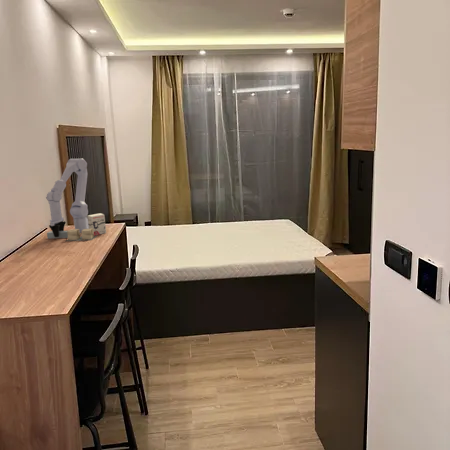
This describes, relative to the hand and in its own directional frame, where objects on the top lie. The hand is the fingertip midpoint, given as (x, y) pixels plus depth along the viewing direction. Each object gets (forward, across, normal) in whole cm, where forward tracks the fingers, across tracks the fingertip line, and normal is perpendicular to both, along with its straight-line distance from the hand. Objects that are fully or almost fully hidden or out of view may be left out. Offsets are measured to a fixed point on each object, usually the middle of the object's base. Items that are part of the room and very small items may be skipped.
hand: (59, 235), depth 249 cm
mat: (+1, +6, +15) cm, 16 cm away
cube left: (+1, +6, +11) cm, 13 cm away
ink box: (+2, -5, +21) cm, 22 cm away
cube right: (+1, +6, +19) cm, 20 cm away
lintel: (+2, 0, 0) cm, 2 cm away
